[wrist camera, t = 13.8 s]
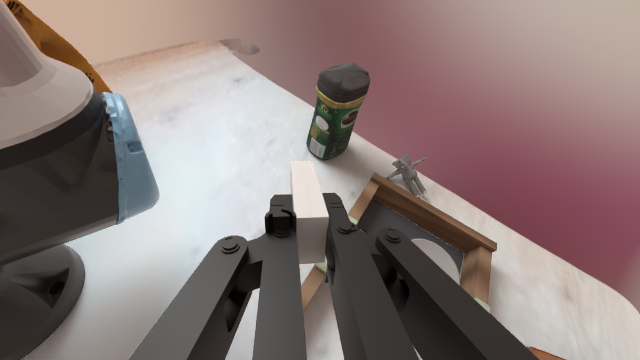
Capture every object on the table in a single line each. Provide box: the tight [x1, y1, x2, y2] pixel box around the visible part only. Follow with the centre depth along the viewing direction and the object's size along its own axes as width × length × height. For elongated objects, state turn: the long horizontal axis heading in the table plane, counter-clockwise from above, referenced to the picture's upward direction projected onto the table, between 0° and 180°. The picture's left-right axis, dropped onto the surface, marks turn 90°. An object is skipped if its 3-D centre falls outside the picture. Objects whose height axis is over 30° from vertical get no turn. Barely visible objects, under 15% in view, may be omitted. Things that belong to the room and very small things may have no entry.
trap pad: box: [358, 199, 463, 273], centre depth 42 cm, size 8×19×1 cm, turn 58°
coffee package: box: [3, 0, 113, 95], centre depth 36 cm, size 10×12×22 cm
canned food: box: [411, 239, 460, 285], centre depth 32 cm, size 8×8×11 cm
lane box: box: [301, 173, 497, 313], centre depth 31 cm, size 40×24×5 cm, turn 148°
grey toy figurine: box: [385, 155, 427, 197], centre depth 49 cm, size 10×6×9 cm
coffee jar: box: [307, 63, 370, 160], centre depth 46 cm, size 10×8×19 cm
